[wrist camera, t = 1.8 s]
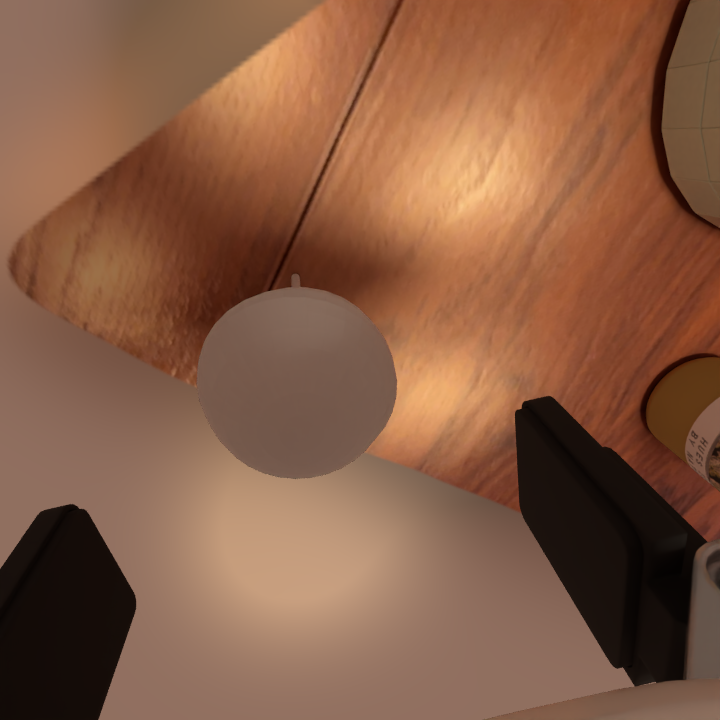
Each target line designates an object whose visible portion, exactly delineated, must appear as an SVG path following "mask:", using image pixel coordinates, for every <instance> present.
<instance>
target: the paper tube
mask: <svg viewBox="0 0 720 720" xmlns="http://www.w3.org/2000/svg"><path fill="white" fill-rule="evenodd" d="M646 419H647V425H648V428H649V430H650V431H651V433H652V434H653V435H654V436H655V437H656V438H657V439H658V440H659V441H660V442H661V443H663V444H664V445H665V446H666V447H667V448H669V449H670V450H671V451H672V452H673V453H675V454H676V455H677V456H678V457H679V458H681V459H682V460H683V461H684V462H685V463H687V464H688V465H689V466H690V467H691V468H692V469H693V470H694V471H696V472H697V473H698V474H699V475H700V476H702V477H703V478H704V479H705V480H706V481H708V482H709V483H710V484H711V485H712V486H714V487H715V488H716V489H717V490H718V491H720V358H717V357H706V358H699V359H694V360H691V361H688V362H686V363H683V364H681V365H680V366H678V367H676V368H675V369H673V370H672V371H670V372H669V373H668V374H667V375H666V376H665V377H664V378H663V379H662V380H661V381H660V382H659V383H658V384H657V386H656V387H655V388H654V390H653V391H652V393H651V395H650V397H649V400H648V403H647V407H646Z"/></svg>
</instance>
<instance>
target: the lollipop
mask: <svg viewBox="0 0 720 720" xmlns="http://www.w3.org/2000/svg"><path fill="white" fill-rule="evenodd" d="M197 389H198V395H199V401H200V404H201V406H202V409H203V411H204V413H205V416H206V418H207V420H208V422H209V424H210V426H211V428H212V429H213V431H214V432H215V434H216V436H217V437H218V439H219V440H220V442H221V443H222V444H223V445H224V446H225V447H226V448H227V449H228V450H229V451H230V452H231V453H232V454H233V455H234V456H235V457H236V458H237V459H239V460H240V461H242V462H243V463H245V464H246V465H248V466H249V467H251V468H254V469H255V470H258V471H260V472H262V473H265V474H269V475H273V476H277V477H283V478H293V479H298V478H312V477H316V476H321V475H324V474H328V473H331V472H333V471H336V470H338V469H341V468H343V467H344V466H346V465H348V464H349V463H351V462H353V461H354V460H355V459H356V458H358V457H359V456H360V455H361V454H362V453H364V452H365V451H366V450H367V448H368V447H369V446H370V445H371V443H372V442H373V441H374V440H375V439H376V438H377V436H378V435H379V434H380V433H381V431H382V430H383V429H384V427H385V426H386V424H387V422H388V420H389V418H390V416H391V414H392V411H393V407H394V404H395V400H396V390H397V379H396V373H395V368H394V363H393V358H392V355H391V352H390V350H389V347H388V345H387V343H386V340H385V339H384V337H383V336H382V334H381V333H380V331H379V330H378V329H377V327H376V326H375V324H374V323H373V322H372V321H371V320H370V318H369V317H367V316H366V315H365V314H364V313H363V312H362V311H361V310H360V309H359V308H358V307H357V306H355V305H354V304H352V303H351V302H349V301H348V300H346V299H344V298H343V297H341V296H338V295H335V294H333V293H330V292H328V291H325V290H319V289H314V288H308V287H300V276H299V275H298V274H293V275H292V276H291V287H287V288H282V289H277V290H272V291H268V292H264V293H261V294H259V295H256V296H253V297H251V298H248V299H246V300H244V301H242V302H241V303H239V304H237V305H236V306H234V307H233V308H231V309H230V310H228V311H227V312H226V313H225V314H224V315H223V316H222V317H221V318H220V319H219V320H218V321H217V322H216V323H215V324H214V326H213V327H212V329H211V331H210V332H209V334H208V336H207V337H206V339H205V341H204V344H203V347H202V350H201V353H200V356H199V362H198V372H197Z"/></svg>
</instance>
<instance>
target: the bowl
mask: <svg viewBox="0 0 720 720" xmlns="http://www.w3.org/2000/svg"><path fill="white" fill-rule="evenodd" d="M689 3H690V4H689V5H688V8H687V11H686V14H685V17H684V19H683V22H682V25H681V28H680V31H679V34H678V37H677V40H676V43H675V46H674V49H673V52H672V55H671V58H670V61H669V64H668V67H667V68H668V69H667V71H666V81H665V92H664V104H663V115H662V126H661V127H662V129H661V131H662V136H663V141H664V146H665V150H666V155H667V160H668V165H669V170H670V175H671V177H672V179H673V181H674V182H675V184H676V185H677V187H678V188H679V190H680V191H681V193H682V194H683V196H684V197H685V199H686V201H687V202H688V204H689V205H690V207H691V208H692V210H693V211H694V212H695V213H696V214H698V215H699V216H701V217H702V218H704V219H706V220H707V221H709V222H711V223H712V224H714V225H715V226H717V227H719V228H720V0H690V2H689Z"/></svg>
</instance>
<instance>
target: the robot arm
mask: <svg viewBox="0 0 720 720" xmlns="http://www.w3.org/2000/svg"><path fill="white" fill-rule="evenodd" d="M515 427H516V446H517V465H518V485H519V503H520V509H521V512H522V515H523V518H524V520H525V522H526V523H527V525H528V526H529V528H530V530H531V531H532V533H533V535H534V537H535V538H536V540H537V541H538V543H539V545H540V547H541V548H542V550H543V552H544V553H545V555H546V557H547V558H548V560H549V561H550V563H551V565H552V567H553V568H554V570H555V572H556V573H557V575H558V577H559V578H560V580H561V582H562V583H563V585H564V587H565V588H566V590H567V592H568V593H569V595H570V597H571V598H572V600H573V602H574V603H575V605H576V607H577V608H578V610H579V612H580V613H581V615H582V617H583V618H584V620H585V622H586V623H587V625H588V627H589V628H590V630H591V632H592V633H593V635H594V637H595V638H596V640H597V642H598V643H599V645H600V647H601V648H602V650H603V652H604V653H605V655H606V657H607V658H608V660H609V661H610V663H611V664H612V665H613V666H614V667H615V668H617V669H618V668H622V667H623V668H624V670H625V671H626V673H627V675H628V676H629V677H630V679H631V681H632V683H633V684H634V686H635V687H629V688H623V689H618V690H613V691H608V692H604V693H599V694H595V695H590V696H585V697H581V698H576V699H572V700H567V701H563V702H558V703H554V704H550V705H544V706H540V707H536V708H531V709H527V710H522V711H518V712H513V713H509V714H505V715H501V716H497V717H492V718H489V719H484V720H720V539H717V540H714V541H711V542H707V541H706V540H705V539H704V538H703V537H702V536H701V535H700V534H699V533H698V532H697V531H696V530H695V529H694V528H693V527H692V526H691V525H690V524H689V523H688V522H687V521H686V520H685V519H684V518H682V517H681V516H680V515H679V514H678V513H677V512H676V511H675V510H674V509H673V508H672V507H671V506H670V505H669V504H668V503H667V502H666V501H665V500H664V499H663V498H662V497H661V496H660V495H659V494H658V493H657V492H656V491H655V490H654V489H653V488H652V487H651V486H650V485H649V484H648V483H647V482H646V481H645V480H644V479H643V478H642V477H641V476H640V475H639V474H638V473H637V472H636V471H634V470H633V469H632V468H631V467H630V466H629V465H628V464H627V463H626V462H625V461H624V460H623V459H622V458H621V457H620V456H619V455H618V454H617V453H616V452H615V451H613V450H612V449H611V448H608V447H602V446H601V445H600V444H599V443H598V442H597V441H596V440H595V439H594V438H593V437H592V436H591V435H590V434H589V433H588V432H587V431H586V430H585V429H584V428H583V427H582V426H581V425H580V424H579V423H578V422H577V421H576V420H575V419H574V418H573V417H572V416H571V415H570V414H569V413H568V412H567V411H566V410H565V409H564V408H563V407H562V406H561V405H560V404H559V403H558V402H557V401H556V400H555V399H554V398H553V397H551V396H546V397H542V398H537V399H533V400H528V401H524V402H523V404H522V409H519V410H516V412H515ZM135 610H136V598H135V594H134V592H133V590H132V589H131V587H130V585H129V583H128V582H127V580H126V578H125V576H124V575H123V573H122V571H121V569H120V568H119V566H118V564H117V562H116V561H115V559H114V557H113V555H112V554H111V552H110V550H109V549H108V547H107V545H106V543H105V542H104V540H103V538H102V536H101V535H100V533H99V531H98V529H97V528H96V526H95V524H94V522H93V521H92V519H91V517H90V515H89V514H88V513H87V511H86V510H84V509H79V508H78V507H77V506H75V505H73V504H69V505H65V506H60V507H56V508H51V509H47V510H44V511H42V512H40V513H39V515H37V517H36V518H35V520H34V521H33V522H32V524H31V525H30V527H29V529H28V530H27V531H26V533H25V534H24V535H23V537H22V538H21V540H20V541H19V543H18V544H17V546H16V547H15V549H14V550H13V552H12V553H11V554H10V556H9V557H8V559H7V560H6V562H5V563H4V565H3V566H2V567H1V569H0V720H98V719H99V716H100V713H101V710H102V707H103V704H104V701H105V698H106V696H107V693H108V689H109V687H110V684H111V681H112V678H113V674H114V672H115V669H116V666H117V663H118V661H119V658H120V655H121V652H122V649H123V646H124V643H125V640H126V637H127V634H128V631H129V628H130V626H131V623H132V619H133V617H134V614H135ZM651 682H656V683H654V684H648V683H651ZM644 684H648V685H644ZM640 685H641V686H640Z"/></svg>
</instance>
